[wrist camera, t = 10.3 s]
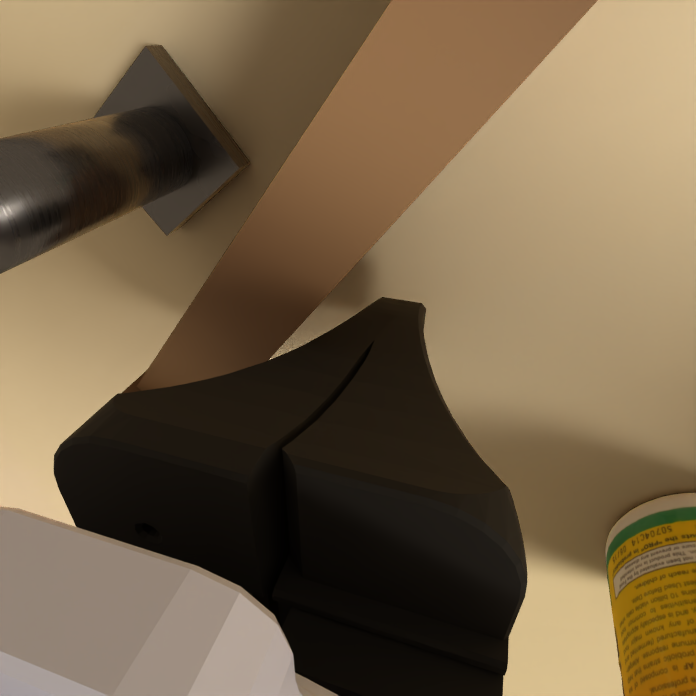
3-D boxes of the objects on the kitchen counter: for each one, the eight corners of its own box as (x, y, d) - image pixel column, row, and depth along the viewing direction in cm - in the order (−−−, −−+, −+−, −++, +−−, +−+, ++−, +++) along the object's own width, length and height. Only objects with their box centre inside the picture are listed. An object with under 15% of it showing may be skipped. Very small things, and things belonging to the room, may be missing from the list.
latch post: (250, 162, 12) (75, 250, 8) (179, 228, 14) (-1, 333, 9) (161, 45, 11) (-101, 61, 7) (97, 131, 13) (-148, 191, 8)
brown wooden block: (542, -121, 8) (562, -318, 3) (615, -37, 8) (726, -113, 4) (221, 314, 15) (86, 442, 10) (267, 351, 15) (154, 493, 11)
